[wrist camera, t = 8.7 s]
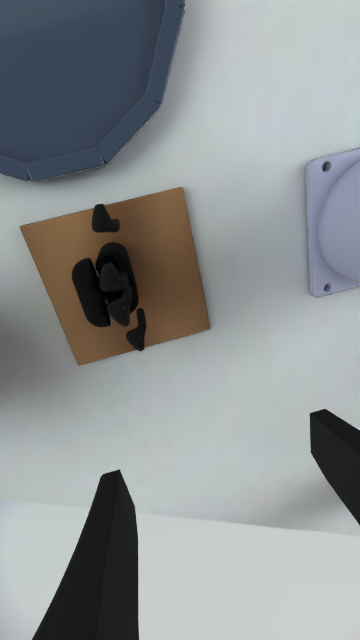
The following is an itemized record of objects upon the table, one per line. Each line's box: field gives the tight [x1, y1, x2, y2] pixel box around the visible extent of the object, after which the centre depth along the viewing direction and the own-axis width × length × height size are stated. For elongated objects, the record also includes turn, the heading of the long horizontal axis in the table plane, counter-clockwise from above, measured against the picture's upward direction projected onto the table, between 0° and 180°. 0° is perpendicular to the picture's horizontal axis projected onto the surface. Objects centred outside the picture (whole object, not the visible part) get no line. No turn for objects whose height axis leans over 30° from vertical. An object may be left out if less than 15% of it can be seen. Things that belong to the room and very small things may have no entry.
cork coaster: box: [20, 187, 210, 365], centre depth 17 cm, size 8×8×1 cm
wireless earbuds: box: [72, 204, 147, 351], centre depth 15 cm, size 7×2×5 cm, turn 11°
